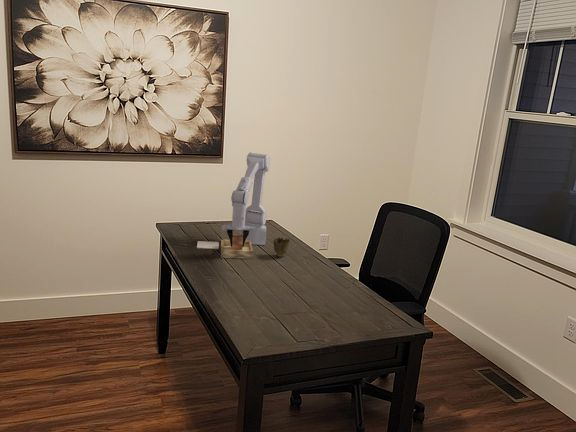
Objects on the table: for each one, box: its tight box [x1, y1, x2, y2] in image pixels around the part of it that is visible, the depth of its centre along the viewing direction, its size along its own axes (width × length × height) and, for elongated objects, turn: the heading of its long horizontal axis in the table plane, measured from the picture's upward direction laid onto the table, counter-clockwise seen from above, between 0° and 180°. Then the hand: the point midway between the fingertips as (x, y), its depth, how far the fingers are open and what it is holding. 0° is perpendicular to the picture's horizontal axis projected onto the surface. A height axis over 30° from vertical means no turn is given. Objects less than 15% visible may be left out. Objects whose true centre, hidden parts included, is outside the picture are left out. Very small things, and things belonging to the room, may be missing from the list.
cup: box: [273, 237, 290, 258], centre depth 241 cm, size 8×7×8 cm
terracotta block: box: [232, 233, 243, 250], centre depth 237 cm, size 4×4×6 cm
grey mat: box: [196, 240, 220, 250], centre depth 248 cm, size 10×10×1 cm
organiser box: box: [220, 239, 254, 260], centre depth 241 cm, size 14×16×4 cm
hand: (237, 246), depth 237 cm, fingers closed on terracotta block, 4 cm apart
